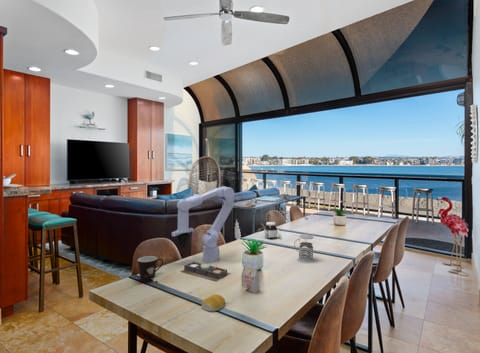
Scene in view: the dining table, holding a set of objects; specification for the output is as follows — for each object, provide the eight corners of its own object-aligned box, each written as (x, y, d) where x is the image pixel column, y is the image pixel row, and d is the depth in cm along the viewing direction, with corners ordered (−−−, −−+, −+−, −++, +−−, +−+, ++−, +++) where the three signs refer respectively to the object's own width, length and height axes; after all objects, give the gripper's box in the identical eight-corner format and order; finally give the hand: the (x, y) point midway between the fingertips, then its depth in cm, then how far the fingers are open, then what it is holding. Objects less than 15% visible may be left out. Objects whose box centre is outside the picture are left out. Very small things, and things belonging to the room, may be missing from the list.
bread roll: (229, 304, 113) (229, 294, 113) (214, 314, 106) (214, 303, 106) (213, 299, 118) (213, 289, 118) (197, 307, 111) (197, 297, 110)
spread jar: (263, 237, 221) (263, 222, 220) (275, 235, 226) (275, 220, 225) (271, 240, 210) (271, 224, 210) (284, 239, 215) (284, 223, 214)
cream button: (193, 267, 150) (193, 263, 150) (200, 268, 148) (200, 265, 148) (187, 269, 146) (187, 265, 146) (194, 271, 144) (194, 267, 144)
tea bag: (247, 286, 130) (247, 264, 129) (259, 290, 125) (259, 268, 125) (241, 289, 127) (241, 266, 126) (254, 293, 123) (254, 270, 122)
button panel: (196, 267, 154) (195, 260, 154) (231, 276, 142) (231, 268, 141) (179, 274, 144) (179, 266, 144) (216, 284, 132) (216, 276, 131)
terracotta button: (216, 273, 142) (216, 269, 142) (223, 275, 139) (223, 270, 139) (210, 275, 138) (210, 271, 138) (218, 277, 136) (218, 273, 136)
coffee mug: (137, 284, 132) (137, 262, 132) (138, 277, 141) (138, 257, 140) (163, 281, 136) (163, 260, 135) (163, 275, 144) (163, 255, 143)
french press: (315, 263, 160) (315, 218, 159) (294, 262, 162) (294, 218, 161) (314, 258, 169) (314, 216, 169) (294, 257, 172) (294, 215, 171)
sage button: (204, 267, 146) (204, 263, 146) (211, 268, 143) (211, 264, 143) (198, 269, 142) (198, 265, 142) (205, 271, 140) (205, 267, 140)
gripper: (187, 219, 164) (186, 243, 164) (167, 223, 152) (167, 248, 152) (196, 220, 160) (196, 245, 160) (177, 224, 148) (177, 251, 148)
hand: (182, 247), depth 156 cm, fingers closed
